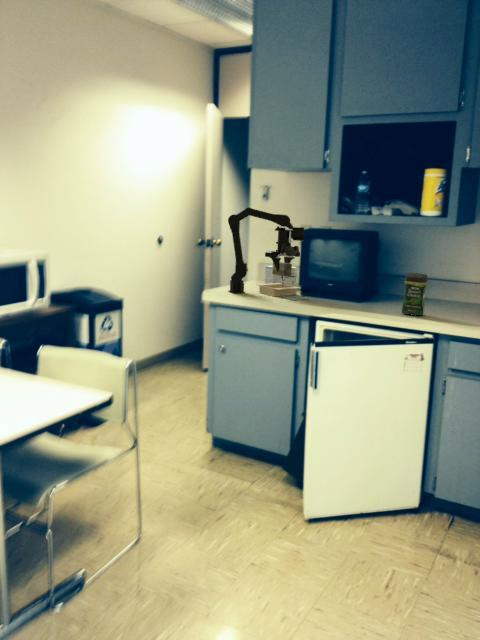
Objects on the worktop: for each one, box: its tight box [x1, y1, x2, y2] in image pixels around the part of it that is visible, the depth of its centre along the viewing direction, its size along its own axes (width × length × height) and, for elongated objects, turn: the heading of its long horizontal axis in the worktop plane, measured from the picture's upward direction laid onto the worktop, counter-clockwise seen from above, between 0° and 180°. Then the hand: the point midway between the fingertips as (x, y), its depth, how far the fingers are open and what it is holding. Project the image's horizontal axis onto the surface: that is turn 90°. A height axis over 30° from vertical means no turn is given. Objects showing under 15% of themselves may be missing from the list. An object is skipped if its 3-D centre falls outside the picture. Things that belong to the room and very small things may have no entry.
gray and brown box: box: [272, 261, 293, 276], centre depth 316 cm, size 5×9×6 cm, turn 35°
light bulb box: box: [264, 264, 280, 284], centre depth 352 cm, size 11×7×11 cm, turn 136°
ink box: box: [280, 265, 298, 287], centre depth 341 cm, size 9×5×12 cm, turn 73°
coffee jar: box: [401, 272, 428, 316], centre depth 275 cm, size 10×8×19 cm
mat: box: [281, 295, 310, 302], centre depth 307 cm, size 10×9×1 cm
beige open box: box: [256, 283, 300, 297], centre depth 320 cm, size 15×18×4 cm
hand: (281, 270), depth 316 cm, fingers closed on gray and brown box, 5 cm apart
